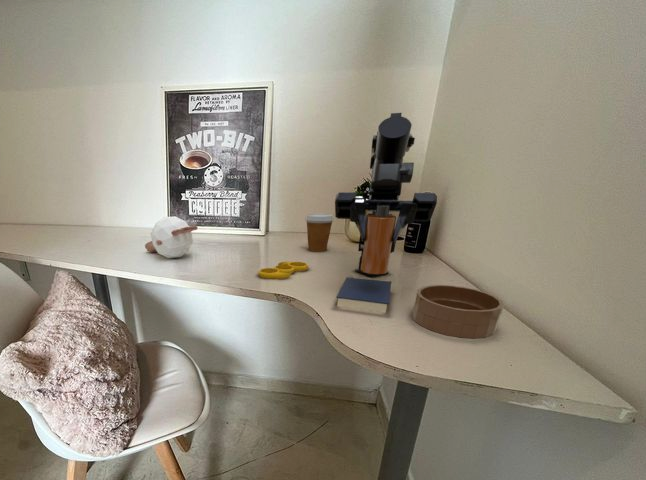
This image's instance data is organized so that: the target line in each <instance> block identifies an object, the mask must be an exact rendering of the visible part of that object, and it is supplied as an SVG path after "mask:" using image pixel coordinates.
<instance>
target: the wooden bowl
mask: <svg viewBox="0 0 646 480" xmlns="http://www.w3.org/2000/svg"><path fill="white" fill-rule="evenodd" d="M504 307H505V304H504V302H503V300H502V299H500V298H499V297H497V296H496V295H493V294H491V293H489V292H486V291H483V290H479V289H475V288H471V287H466V286H460V285H452V284H432V285H431V284H430V285H425V286H421V287H420V288H418V289H417V290H416V295H415V301H414V306H413V309H412V310H413V311H412V315H411V317H412V319H413V321H414V322H415V323H416V324H417V325H418V324H419V326H421V327H422V328H425V329H427V330H429V331H430V332H431V331H432V332H434V333H437V334H441V335H444V336H450V337H453V338H454V337H455V338H461V339H463V338H464V339H482V338H487V337H491V336H493V335H494V334H495V333H496V331H497V328H498V325H499V322H500V319H501V316H502V313H503V311H504V310H503V309H504Z"/></svg>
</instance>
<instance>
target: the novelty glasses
mask: <svg viewBox="0 0 646 480" xmlns="http://www.w3.org/2000/svg"><path fill="white" fill-rule="evenodd" d="M308 269H309V264H308V263H306V262H304V261H281V262H279V263H277V265H275V266H274V267H264V268H261V269H259V270H258V276H259V277H260V278H263V279H271V280H282V279H288V278H290V277H291V275H293V274H294V273H295V272H305V271H307V270H308Z"/></svg>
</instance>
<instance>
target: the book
mask: <svg viewBox="0 0 646 480" xmlns="http://www.w3.org/2000/svg"><path fill="white" fill-rule="evenodd" d="M391 289H392V281H386V280H376V279H367V278H357V277H349V276H347V277H345V280H344V281H343V283H342V285H341V287H340V289H339V291H338V293H337V295H336V299H337V303H336V304H337V305H336V308H343V309H350V310H358V311H365V312H374V313H380V314H386V313H387V309H388V305H390V299H391V298H390V297H391Z"/></svg>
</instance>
